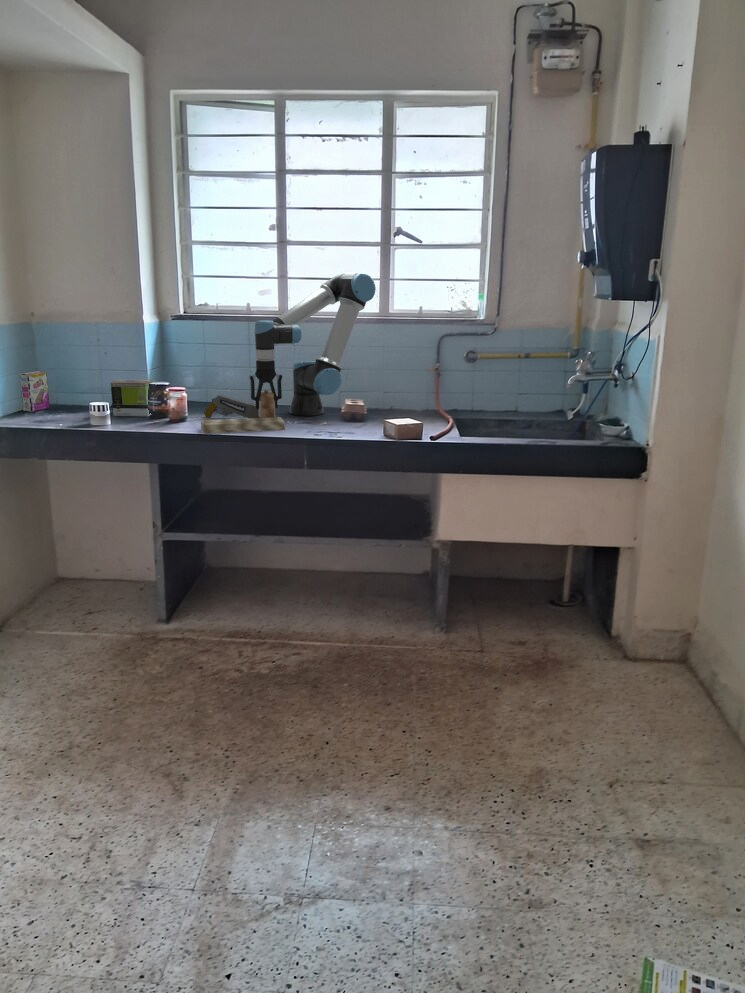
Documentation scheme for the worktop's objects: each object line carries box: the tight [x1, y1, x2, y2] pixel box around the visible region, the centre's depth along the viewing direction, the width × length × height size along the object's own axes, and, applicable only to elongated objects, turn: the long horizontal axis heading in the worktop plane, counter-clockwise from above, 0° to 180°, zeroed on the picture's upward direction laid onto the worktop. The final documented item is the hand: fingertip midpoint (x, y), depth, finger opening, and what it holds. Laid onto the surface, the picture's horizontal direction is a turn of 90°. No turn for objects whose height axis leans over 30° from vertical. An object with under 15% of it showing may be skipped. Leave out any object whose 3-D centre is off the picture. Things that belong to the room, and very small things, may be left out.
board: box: [200, 416, 286, 435], centre depth 292 cm, size 32×9×4 cm, turn 108°
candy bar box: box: [19, 370, 50, 413], centre depth 318 cm, size 11×5×16 cm, turn 162°
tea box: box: [110, 379, 153, 418], centre depth 314 cm, size 15×10×15 cm, turn 89°
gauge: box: [259, 389, 274, 418], centre depth 298 cm, size 5×12×12 cm, turn 18°
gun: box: [203, 394, 260, 418], centre depth 312 cm, size 3×25×15 cm, turn 81°
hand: (266, 416), depth 303 cm, fingers closed on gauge, 5 cm apart
